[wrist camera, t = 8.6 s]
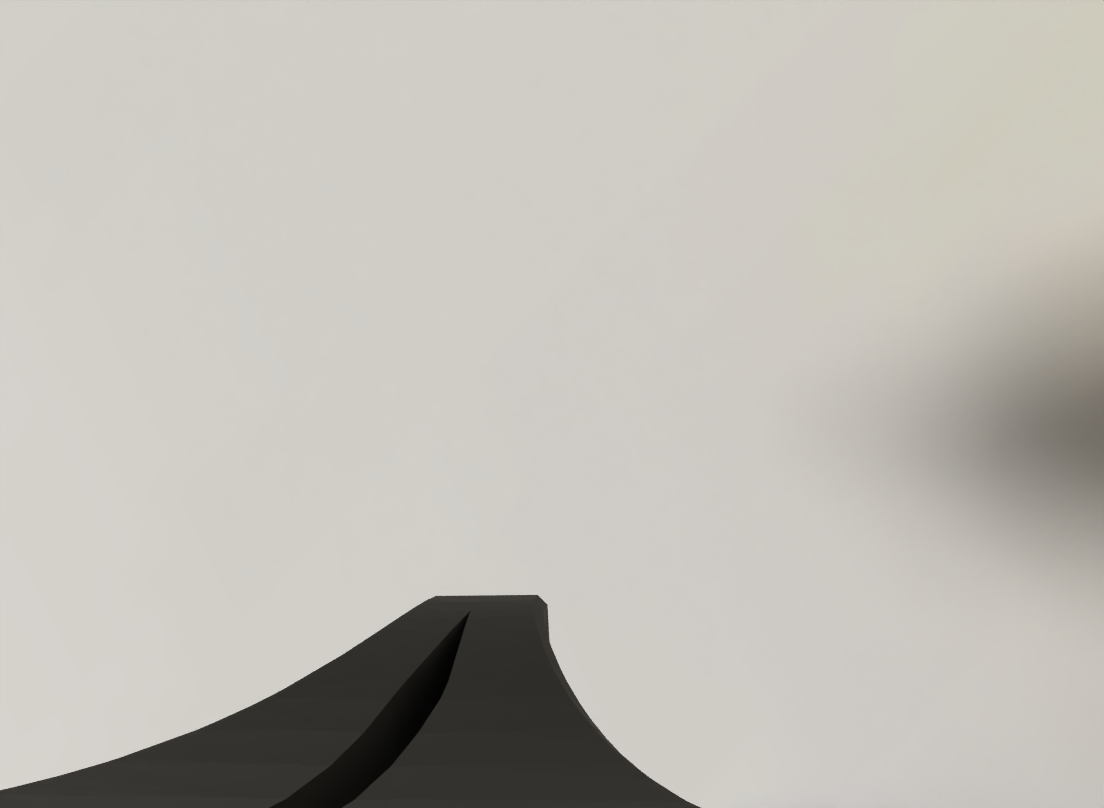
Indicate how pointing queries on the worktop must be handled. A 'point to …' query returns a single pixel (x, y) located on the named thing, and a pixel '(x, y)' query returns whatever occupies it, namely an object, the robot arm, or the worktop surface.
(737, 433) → the worktop surface
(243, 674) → the worktop surface
